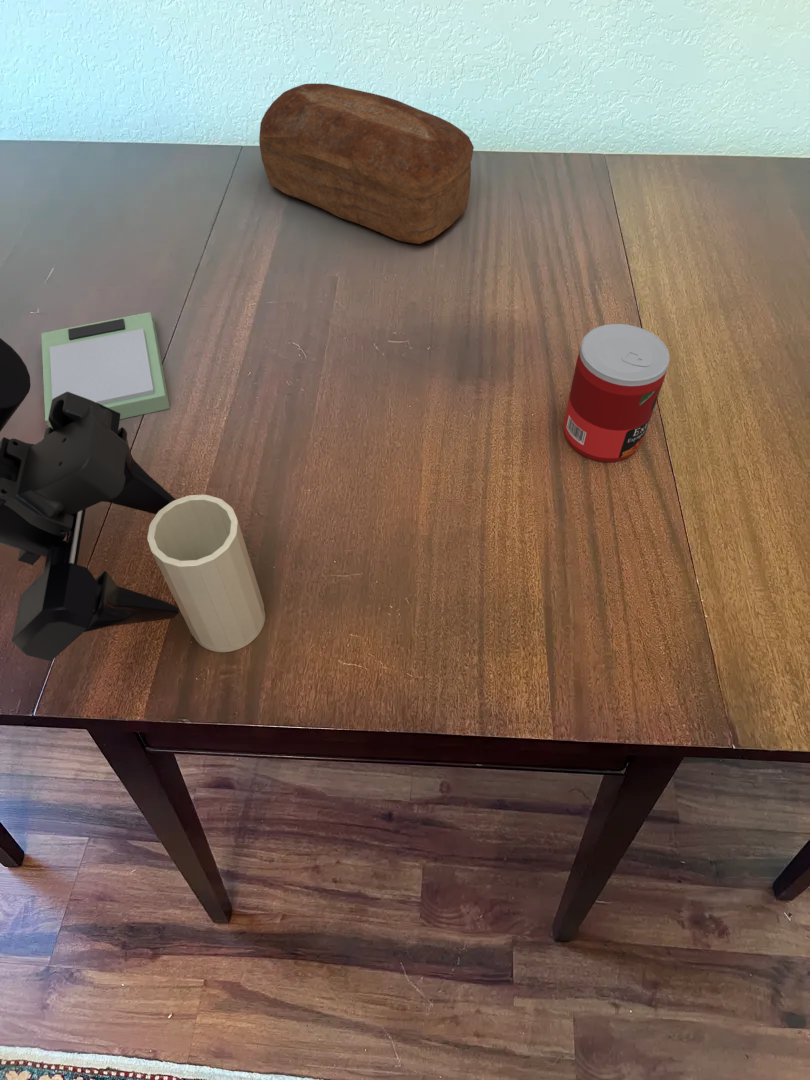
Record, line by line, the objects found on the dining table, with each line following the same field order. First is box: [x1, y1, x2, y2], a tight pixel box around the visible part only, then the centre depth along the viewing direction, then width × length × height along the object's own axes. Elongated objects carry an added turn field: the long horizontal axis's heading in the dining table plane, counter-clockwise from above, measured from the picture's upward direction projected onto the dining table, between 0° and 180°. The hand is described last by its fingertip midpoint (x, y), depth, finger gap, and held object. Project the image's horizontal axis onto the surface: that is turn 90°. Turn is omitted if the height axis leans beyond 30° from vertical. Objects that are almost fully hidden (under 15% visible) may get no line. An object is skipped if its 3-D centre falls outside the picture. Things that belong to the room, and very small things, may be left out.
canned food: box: [563, 323, 670, 463], centre depth 74 cm, size 8×8×11 cm
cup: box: [146, 494, 266, 653], centre depth 61 cm, size 6×6×13 cm
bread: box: [258, 82, 475, 245], centre depth 99 cm, size 14×28×12 cm, turn 55°
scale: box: [40, 311, 171, 429], centre depth 83 cm, size 14×12×3 cm
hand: (180, 561), depth 59 cm, fingers open, 9 cm apart
